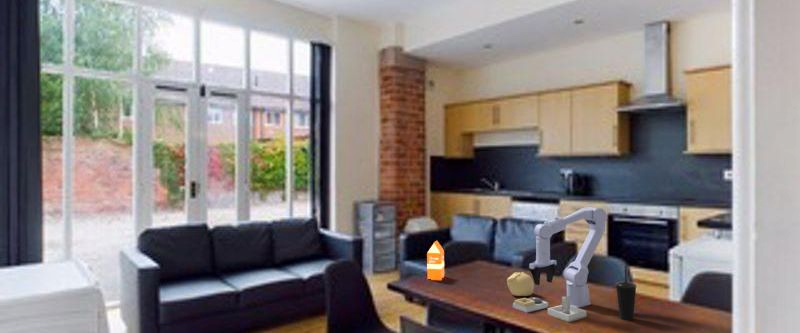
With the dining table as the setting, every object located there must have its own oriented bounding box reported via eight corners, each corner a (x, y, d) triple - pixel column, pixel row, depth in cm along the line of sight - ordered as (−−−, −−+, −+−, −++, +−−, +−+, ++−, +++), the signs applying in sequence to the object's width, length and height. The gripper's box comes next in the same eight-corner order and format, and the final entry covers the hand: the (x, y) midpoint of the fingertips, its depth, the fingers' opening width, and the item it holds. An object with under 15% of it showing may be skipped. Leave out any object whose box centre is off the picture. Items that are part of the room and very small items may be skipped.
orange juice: (427, 279, 254) (426, 242, 253) (431, 275, 262) (430, 240, 262) (441, 280, 251) (440, 243, 251) (444, 276, 260) (444, 240, 260)
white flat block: (534, 302, 210) (534, 294, 210) (548, 307, 203) (548, 298, 203) (513, 307, 203) (512, 299, 203) (526, 312, 196) (526, 304, 196)
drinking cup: (630, 315, 191) (630, 266, 190) (641, 321, 183) (640, 270, 183) (612, 315, 190) (611, 266, 190) (621, 322, 183) (621, 271, 182)
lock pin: (564, 312, 194) (564, 295, 194) (571, 314, 191) (571, 297, 191) (560, 314, 192) (560, 297, 192) (567, 316, 189) (567, 298, 189)
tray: (565, 310, 198) (565, 304, 198) (586, 317, 189) (586, 310, 189) (547, 314, 193) (547, 308, 193) (568, 322, 184) (568, 315, 184)
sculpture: (514, 290, 230) (514, 268, 230) (537, 294, 223) (537, 271, 222) (503, 295, 221) (503, 272, 221) (527, 300, 214) (527, 276, 214)
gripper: (547, 248, 210) (547, 279, 210) (524, 252, 202) (524, 283, 203) (560, 251, 204) (560, 282, 204) (536, 255, 196) (536, 287, 196)
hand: (543, 283), depth 203 cm, fingers open, 7 cm apart
